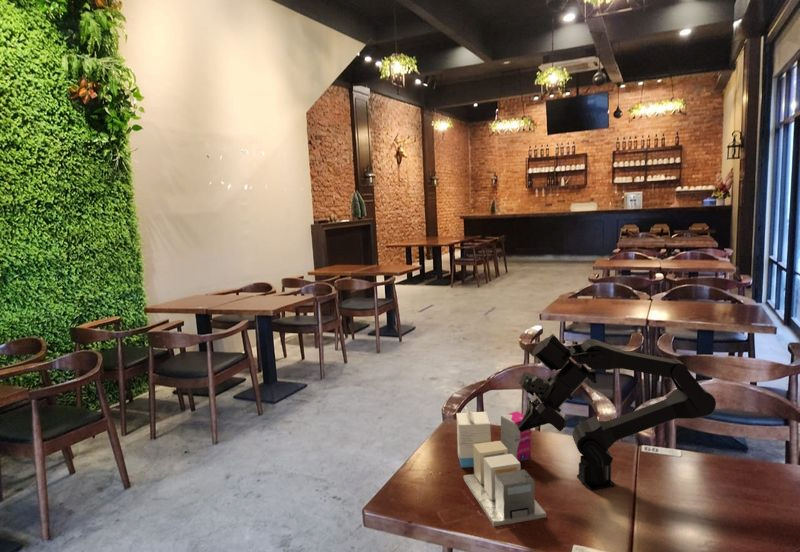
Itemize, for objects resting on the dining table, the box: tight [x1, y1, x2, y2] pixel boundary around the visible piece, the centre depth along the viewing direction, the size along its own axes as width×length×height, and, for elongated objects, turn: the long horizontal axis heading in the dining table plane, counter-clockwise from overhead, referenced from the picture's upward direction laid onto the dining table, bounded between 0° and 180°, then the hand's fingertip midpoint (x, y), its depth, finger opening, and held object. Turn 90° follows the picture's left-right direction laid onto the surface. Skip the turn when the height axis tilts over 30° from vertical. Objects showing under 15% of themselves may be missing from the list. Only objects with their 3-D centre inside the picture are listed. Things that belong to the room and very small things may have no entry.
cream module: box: [484, 454, 522, 500], centre depth 120 cm, size 7×5×8 cm
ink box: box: [455, 406, 492, 469], centre depth 139 cm, size 9×8×13 cm
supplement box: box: [500, 411, 532, 463], centre depth 139 cm, size 6×6×12 cm
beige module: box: [473, 440, 508, 484], centre depth 127 cm, size 7×5×8 cm
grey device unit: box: [463, 469, 547, 527], centre depth 120 cm, size 12×20×9 cm, turn 11°
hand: (519, 430), depth 125 cm, fingers closed
